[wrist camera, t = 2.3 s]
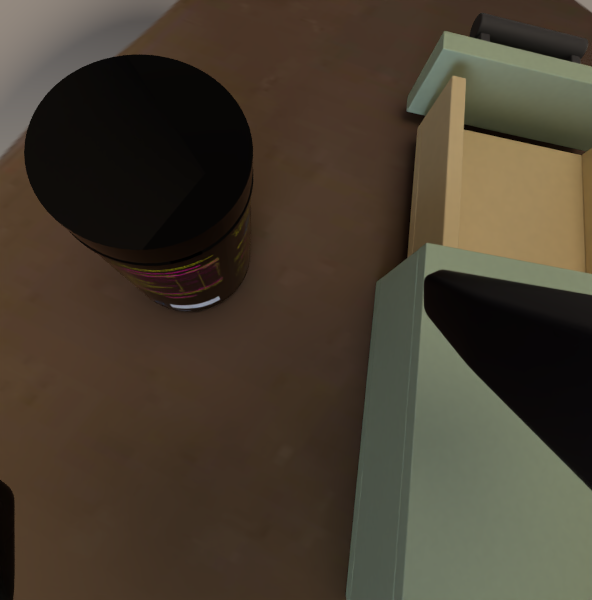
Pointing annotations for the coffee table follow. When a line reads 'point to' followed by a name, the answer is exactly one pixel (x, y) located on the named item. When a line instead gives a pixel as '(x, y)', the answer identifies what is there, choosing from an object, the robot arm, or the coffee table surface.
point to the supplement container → (149, 175)
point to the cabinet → (458, 462)
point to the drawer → (505, 145)
